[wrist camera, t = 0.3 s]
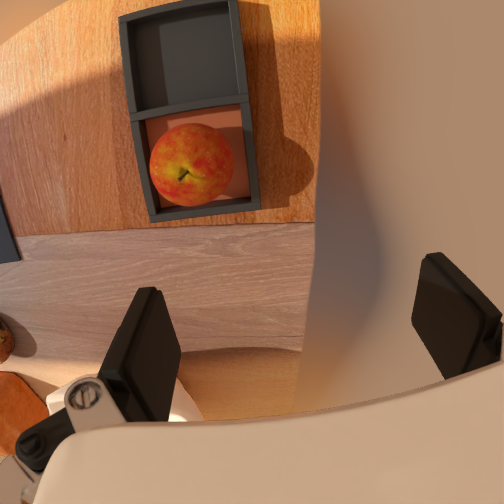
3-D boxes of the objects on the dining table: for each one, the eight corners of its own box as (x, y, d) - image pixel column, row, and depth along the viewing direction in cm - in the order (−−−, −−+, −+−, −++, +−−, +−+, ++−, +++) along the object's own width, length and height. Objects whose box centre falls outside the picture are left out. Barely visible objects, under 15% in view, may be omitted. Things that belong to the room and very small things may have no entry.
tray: (126, 21, 22) (117, 16, 20) (236, -1, 22) (236, -8, 20) (156, 215, 31) (150, 223, 29) (260, 202, 31) (261, 209, 29)
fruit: (200, 105, 26) (184, 105, 19) (250, 160, 29) (253, 180, 21) (147, 156, 28) (116, 175, 21) (195, 206, 30) (181, 241, 23)
